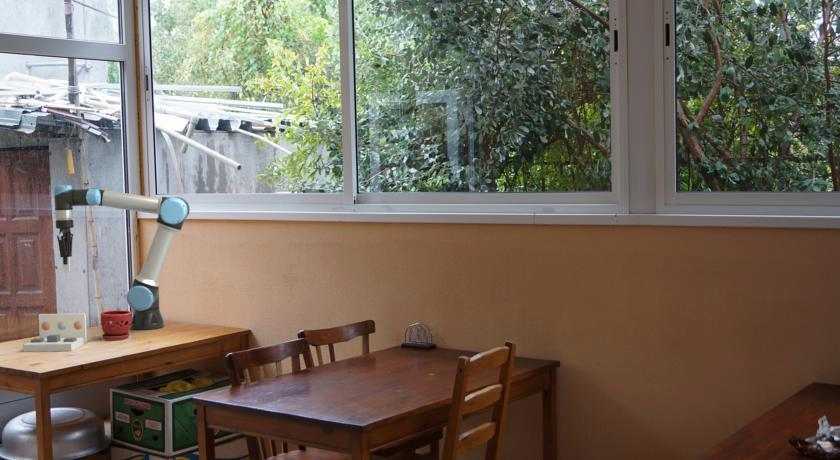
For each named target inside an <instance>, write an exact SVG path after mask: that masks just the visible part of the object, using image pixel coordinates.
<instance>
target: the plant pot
mask: <svg viewBox="0 0 840 460" xmlns="http://www.w3.org/2000/svg"><path fill="white" fill-rule="evenodd" d="M132 317H133V315H132V311H130V310H121V309H120V310H119V309H118V310H107V311H102V312H101V313H100V326H101V329H102V332H103V334H102V335H101V336H102V339H105V340H106V341H120V340H125V339H127V338H129V336H130V335H131V334H130V333H129V331H130V329H131V321H132Z"/></svg>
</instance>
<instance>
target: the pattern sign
mask: <svg viewBox="0 0 840 460" xmlns="http://www.w3.org/2000/svg"><path fill="white" fill-rule="evenodd" d="M76 313H77V314H69V313H38V329H39V330H38V332H39V333H38V334H39V338H47V336H49V335H55V334H60V338H74V337H77V338H84V342H87V341H88V338H87V317H86V316H87V315H86V313H83V312H76Z"/></svg>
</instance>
